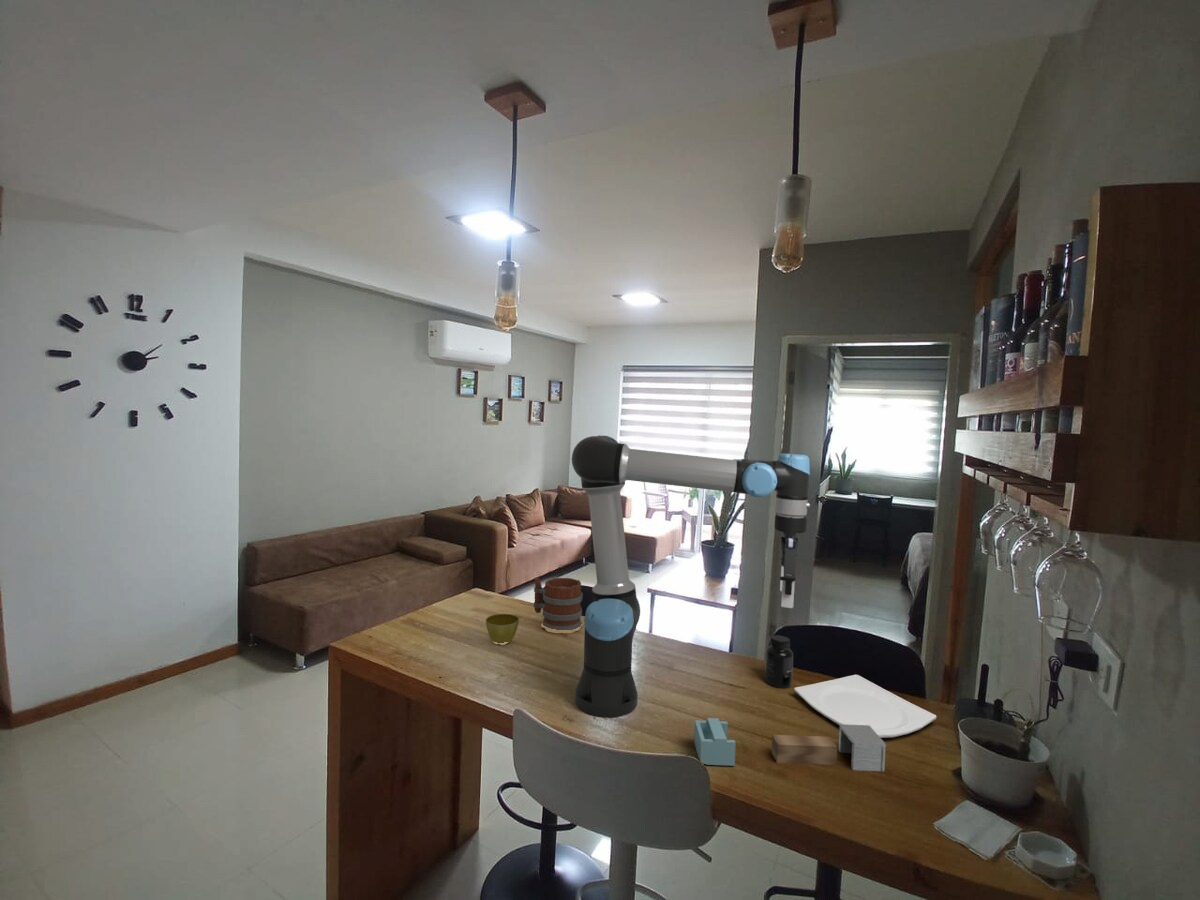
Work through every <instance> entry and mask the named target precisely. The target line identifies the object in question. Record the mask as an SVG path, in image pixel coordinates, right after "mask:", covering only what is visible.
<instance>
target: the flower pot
mask: <svg viewBox="0 0 1200 900" xmlns="http://www.w3.org/2000/svg"><path fill="white" fill-rule="evenodd" d="M519 623H520V617H519V616H517V615H514V614H511V613H498V614H492V615H489V616H487V617H486V619H485V624H486V630H487V633H488V635H489V638H490V640H491V641H492V642H493V641H494V642H497V643H504V642H509V641H511V642H512V640H513V638H514V637H515V635H516V633H517V630H518V627H519Z"/></svg>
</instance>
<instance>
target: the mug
mask: <svg viewBox="0 0 1200 900" xmlns="http://www.w3.org/2000/svg"><path fill="white" fill-rule="evenodd" d="M533 592H534V601H533V608H534V611H535V613H536V614H540V613H541V611H542V617H543V620H542V621H543V622H541V623H543V625H544V626H546V627H548V628H551V629H556V630H573V629H576V628H578V627H580V626H581V624H583V622H582V620H581V617H582V616H583V609H582V607H581V602H582V601H583V592H582V582H581V580H579V579H575V578H571V577H553V578H551V579H550V578H549V579H548V580H546V581H545V582H544V588H543V587H542V582H541V580H540V577H534V588H533ZM542 601H544V603H543V602H542Z"/></svg>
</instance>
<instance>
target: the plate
mask: <svg viewBox="0 0 1200 900" xmlns="http://www.w3.org/2000/svg"><path fill="white" fill-rule="evenodd" d="M793 689H794V691H795V693H796V694H798V696H799V697H801V698H802V699H803V700H804V702H806V703H807V704H808V705H809V706H810V707H811V708H813V709H814V710H816V711H817V712H818V713H820V714H821V715H823V716H824V717H825V718H828V720H830V721H832V722H834V723H835V724H837V725H839V726H840V724H845V725H869V726H870V727H871V728H872V729H873V730H874V731H875V732H876V734H877V735H878V736H879V737H880V738H881V739H882V738H883V739H884V738H886V739H887V738H896V737H900V736H904V735H908V734H911V733H913V732H916V731H919V730H922V729H923V728H924V727H926V726H927V725H928V724H930V723H932V722H934V721H935V720H937V715H936V714H934V713H932V712H930V711H929V710H925V709H924V708H923V707H922V708H921V707H920V706H918V705H916V704H914V703H911V702H909V701H908V700H905V698H903V697H900V696H898V695H896V694H894V693H893V692H891V691H888V690H886V689H884V688H883V687H881V686H879V685H878V684H875V683H874V682H872V681H870V680H868V679H866V678H864V677H862V676H861V675H859V674H853V675H847V676H844V677H840V678H835V679H830V680H827V681H826V680H824V681H821V682H816V683H812V684H807V685H802V686H797V687H796V686H795V687H794V688H793Z"/></svg>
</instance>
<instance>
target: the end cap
mask: <svg viewBox="0 0 1200 900" xmlns="http://www.w3.org/2000/svg"><path fill="white" fill-rule="evenodd" d="M838 730H839V733H838V748H837V751H838V752H839V753H843V754H844V753H847V754H851V760H850V761H851V762H850V764H851V765H850V768H851V769H852V771H859V772H860V771H861V772H863V771H865V772H866V771H867V772H885V766H886V765H885V764H886V762H885V761H886V747H887V745H886V742H885V741H884V740H883V739H882V738H880V737H879V736H878V735H877V734H876V732H875V731H874V730H873V729H872V728H871V727H870V726H869V725H845V724H840V725H839V729H838Z"/></svg>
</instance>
